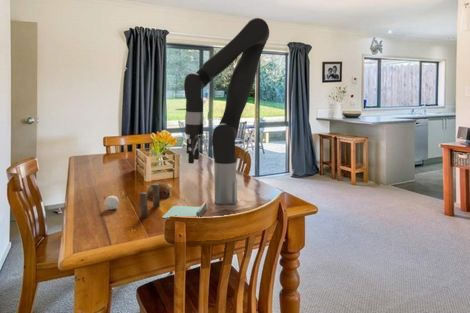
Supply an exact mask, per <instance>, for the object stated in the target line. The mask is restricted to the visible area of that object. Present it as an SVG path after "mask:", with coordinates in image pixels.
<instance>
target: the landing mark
mask: <svg viewBox="0 0 470 313" xmlns="http://www.w3.org/2000/svg"><path fill="white" fill-rule="evenodd" d="M200 207H201V206H188V205H187V206H186V205H185V206H184V205H173V206H171V208H169V210H168V211H167V212H165V214H163V215H162V216H161V219H168V218H167V217H170V216H175V215H177V216H196V212H197V211H198V210H199V208H200ZM207 209H208V207H207V206H206V209H205V211H206V210H207Z"/></svg>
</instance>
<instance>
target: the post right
mask: <svg viewBox="0 0 470 313" xmlns="http://www.w3.org/2000/svg"><path fill="white" fill-rule="evenodd" d="M151 185H152V184H151ZM152 190H153V198H152V206H153V207H154V208H159V207H160V205H161V203H160V199H159V184H154V183H153V185H152Z"/></svg>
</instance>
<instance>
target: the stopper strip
mask: <svg viewBox="0 0 470 313" xmlns="http://www.w3.org/2000/svg"><path fill="white" fill-rule="evenodd" d="M199 207H200V208H199V210H198V211H197V212H196V216H198V217H199V216H201V217H202V216H203V214H204V213H205V211H206V210H207V209H206V207H207V202H203V203H202V204H201V205H200V206H199ZM205 209H206V210H205Z"/></svg>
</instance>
